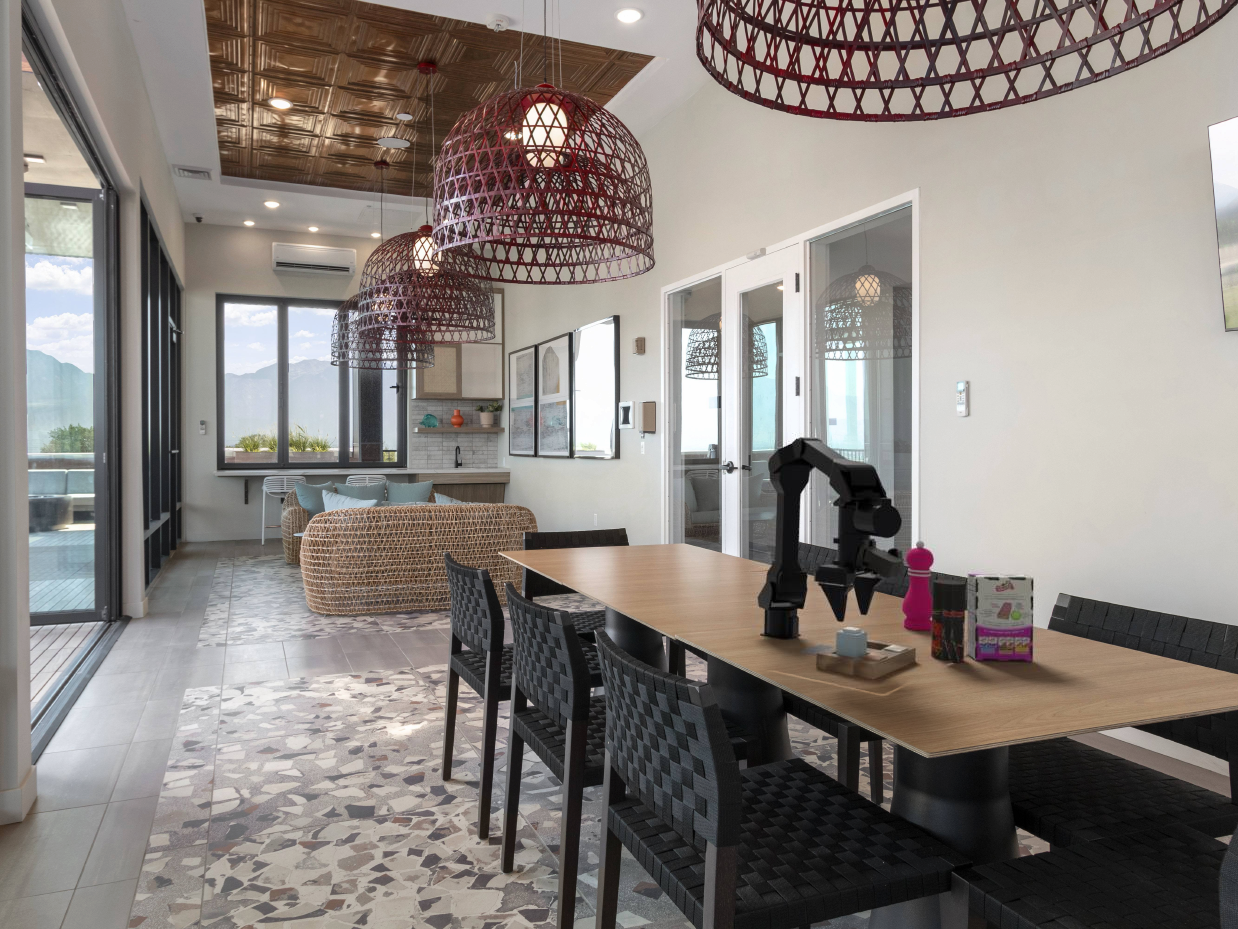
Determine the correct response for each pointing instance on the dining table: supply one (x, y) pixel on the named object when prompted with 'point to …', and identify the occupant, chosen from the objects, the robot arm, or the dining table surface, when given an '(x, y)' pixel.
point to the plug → (851, 642)
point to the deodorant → (948, 620)
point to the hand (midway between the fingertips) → (852, 618)
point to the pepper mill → (918, 589)
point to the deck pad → (816, 649)
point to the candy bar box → (1000, 617)
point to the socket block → (868, 660)
